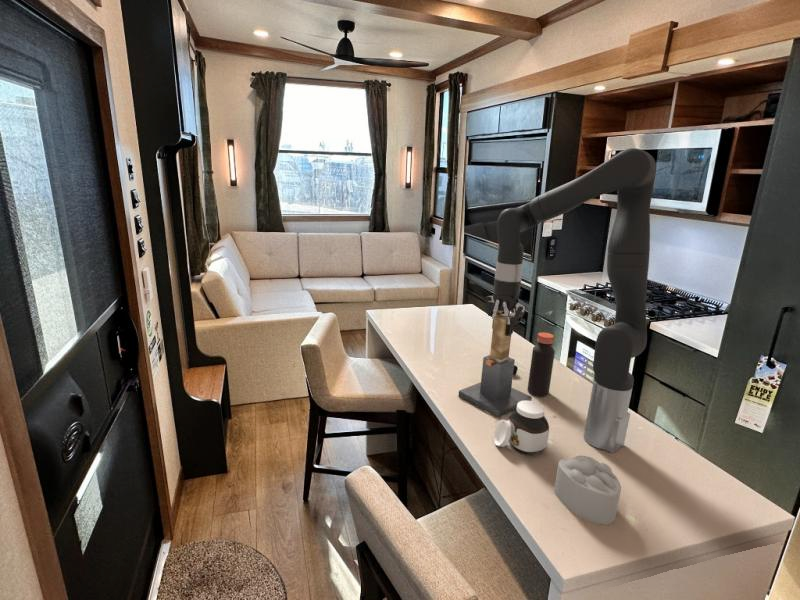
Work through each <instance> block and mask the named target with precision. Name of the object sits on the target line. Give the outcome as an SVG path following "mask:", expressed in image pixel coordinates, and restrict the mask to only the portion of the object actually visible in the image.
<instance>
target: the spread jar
mask: <svg viewBox="0 0 800 600" xmlns="http://www.w3.org/2000/svg"><path fill="white" fill-rule="evenodd" d="M545 412H546V411H545V406H543V405H542V404H541V403H539V402H538V401H537V402H536V401H534V400H533V401H532V400H531V401H528V400H525V401H520V402H518V404H517V409H516V410H515V411H513V412H511V413H509V416H508V420H505V419H500V420H499V421H498V422H497V424H496V425H495V428H494V431H493V441H494V444H495V446H497V447H501V448H505V447H506V446H507V445H508V443H509V444H510V445H511V447H512V449H514V450H515V451H517V452H518V453H520V454H523V455H529V454H530V455H536V454H538V453H541V451H543V450H545V448H547V445H548V441H549V435H550V425H549V421H548V420H547V417H546V416H545Z"/></svg>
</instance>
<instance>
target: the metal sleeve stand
mask: <svg viewBox="0 0 800 600" xmlns="http://www.w3.org/2000/svg"><path fill="white" fill-rule="evenodd" d="M515 362H516V361H515V358H512V357H509V360H507V361H504V362H501V363H500V362H497V361H495V360H493V359H490V354H489V355H486V356H485V355H484V356H483V358H482V369H481V377H480V379H481V380H480V382H478V383H476V384H473V385H470V386H468V387H465V388H462V389H460V390H459V391H458V395H457V396H458V397H459V398H460V399H463V400H464V401H466V402H468V403H470V404H472V405H473V406H475V407H477V408H479V409H480V410H483V411H484V412H486V413H488V414H490V415H491V416H493V417H496V418H497V419H500V418H502V417H504V416H506V415H508V414H511V413H512V412H513V411H515V410H516V409H517V404H518V402H520V401H525V400H528V401H532V399H533V397H532V396H531V395H529V394H527V393H524V392H522V391H520V390H518V389H516V388H514V387H512V385H513V378H514V375H513V370H514V365H515Z"/></svg>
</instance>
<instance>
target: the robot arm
mask: <svg viewBox="0 0 800 600" xmlns="http://www.w3.org/2000/svg"><path fill="white" fill-rule="evenodd" d="M656 174H657V163H656V160H655V158H654V157H653V155H652V154H650V153H649V152H647V151H645V150H643V149H640V148H635V147H634V148H632V147H630V148H627V149H623V150H622V151H619V152H618V153H616V154H615V155H613V156H612V157H611V158H609V159H607V160H606V161H605V162H603V163H601V164H600V165H598V166H597V167H595V168H593V169H592V170H590V171H588V172H586V173H585V174H583V175H582V176H579V177H577V178H575V179H573V180H570V181H569V182H566V183H564V184H562V185H560V186H557V187H555V188H553V189H550V190H548V191H546V192H544V193H542V194H540V195H538V196H536V197H534V198H533V199H531V200H530V201H529V202H526V204H523V205H520V206H518V207H509V208H506V209H503V210H502V211H501V212H500V214H499V216H498V218H497V221H496V222H497V223H496V233H497V235H496V236H497V241H498V242H497V243H498V251H497V258H496V259H497V261H496V266H495V273H494V282H493V295H487V296H485V297H484V299H485V306H486V312H487V313H486V314H487V316H488V317H491V319H492V324H491V329H492V330H493V323H494V316H497V315H501V314H503V312H504V315H505V317H506V319H507V324H506V331H505V336H510V335H511V336H512V334H513V333H514V325H516V324H519V323H521V321H522V319H523V317H524V315H525V313H526V311H527V305H525V304H521V303H520V301H519V295H520V292H521V286H522V285H521V284H522V275H523V261H524V260H523V259H524V250H525V249H524V245H523V243H522V242H521V233H523V232H525V231H528V230H529V229H532V228H534V227H536V226H537V225H539V224H541V223H544V222H546V221H549V220H553V219H554V218H557V217H559V216H561V215H565V214H566V213H568V212H570V211H572V210H574V209H576V208H577V207H579V206H581V205H582V204H584V203H586V202H588V201H590V200H592V199H594V198H596V197H600V196H602V195H605V194H608V193H613V192H616V191H617V192H616V193H617V195H616V196H617V200H616V201H617V207H616V208H617V209H616V216H615V219H614V221H613V226H612V229H611V232H610V236H609V240H608V245H607V257H606V272H607V273H606V274H607V277H608V281H609V284H610V287H611V289H612V292H613V294H614V299H615V316H614V318H615V319H614V323H613V324H611V325H609V326H605V327H604V328H602V329H601V330H599V333H598V335H597V338H596V342H595V347H594V353H593V363H592V370H593V373H594V376H593V382H592V388H591V393H590V399H589V403H588V404H589V405H588V409H587V416H586V421H585V422H586V423H585V427H584V433H583V438H584V439H583V440H585V442H586V443H587V444H589V445H590V446H592V447H594V448H597V449H600V450H603V451H608V452H610V453H615V452H616V451H618V450H619V449H620V448H623V446H625V441H626V438H627V437H626V436H627V431H628V426H629V423H630V417H631V413H630V412H629V407H630V402H631V397H632V392H633V387H634V383H635V378H634V375H633V374H632V373H631V372H630V367H631V362H632V359H633V358H635V357H638V356H639V355H641V354H642V352H644V350H645V349H646V346H647V342H648V330H647V329H648V328H647V310H646V309H647V306H646V305H647V304H646V303H647V293H648V276H649V274H648V273H649V265H650V251H651V250H650V248H651V244H650V243H651V221H650V220H651V219H650V216H651V215H650V210H651V202H652V198H653V197H652V195H653V191H654V184H655V180H656Z"/></svg>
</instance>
